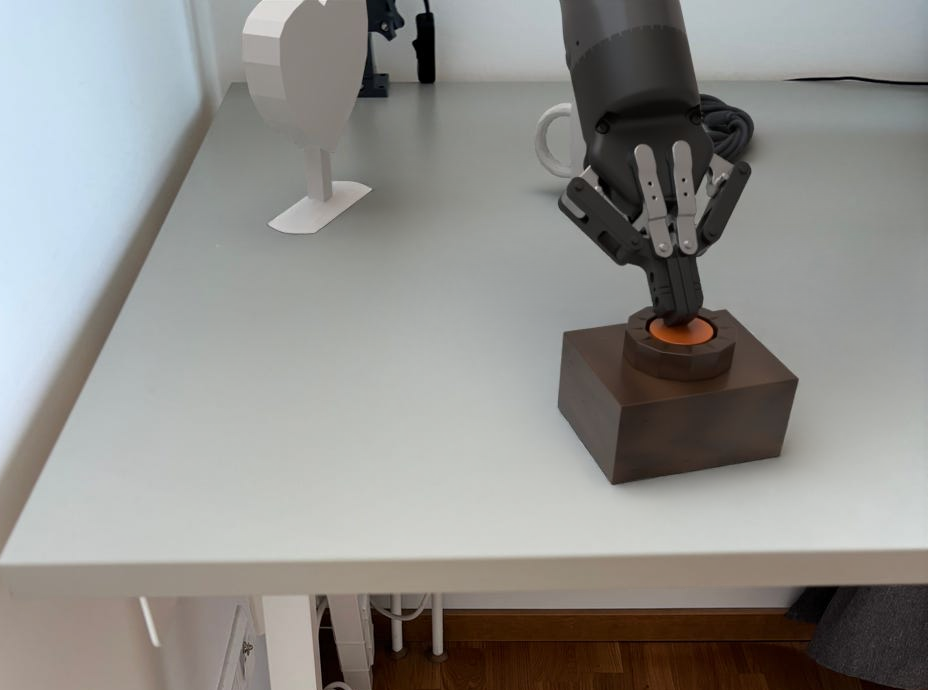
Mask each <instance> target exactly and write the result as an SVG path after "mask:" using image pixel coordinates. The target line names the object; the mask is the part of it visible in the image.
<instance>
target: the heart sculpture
mask: <svg viewBox="0 0 928 690" xmlns="http://www.w3.org/2000/svg"><path fill="white" fill-rule="evenodd" d="M368 16H369V15H368V9H367V0H261V1H259V3H258V4H257V5H256V6H255V7H254V8H253V9H252V11H251V12H250V14H248V17H246V20H245V23H244V26H243V29H242V32H241V43H242V44H241V45H242V47H241V48H242V64H243V69H244V72H245V73H244V74H245V78H246V82H247V83H246V84H247V87H248V92H249V95H250V97H251V100H252V101H253V104H254V105H255V108H256V109H257V111H258V113H259V116H260V117H261V119H262V120H263V122H264V123H266V124H267V125H268V126H269V127H270V128H271V129H272V130H273V131H274V132H275V133H276V134H278V135H280V136H282V137H283V138H285V139H287V140H289V141H291V142H293V144H295V145H296V146H297V147H299V148H301V149H304V161H305V171H306V172H305V175H306V186H307V195H306V196H304V197H303V198H301V199H300V200H298V201H297V202H296V203H295V204H293V205H292V206H290V207H289V208H287V209H285V210H284V211H282V213H280V214H279V215H278V216H276V217H275V218H273V219H272V220H270V221H269V222H268V223H266V225H268V226H269V227H271V228H272V229H274V230H276V231H279V232H282V233H284V234H316V233H317V232H319V231H320V230H321V229H322V228H324V227H325V226H326V225H327V224H329V223H330V222H332V221H333V220H334V219H336V218H337V217H338V216H339V215H341V214H342V213H343V212H345V211H347V209H349V208H350V207H352V206H353V205H354V204H355V203H357V202H358V201H360V199H362V198H363V197H365V196H366V195H367V194H368V193H370V192H371V191H373V188H371V187H369V186H367V185H365V184H362V183H360V182H356V181H348V180H332V179H333V178H332V166H331V154H334V153H335V151H336V149H337V146H338V144H339V141H340V139H341V137H342V134H343V133H344V130H345V128H346V126H347V123H348V122H349V120H350V117H351V115H352V113H353V109H354V107H355V104H356V101H357V99H358V96H359V93H360V90H361V88H362V83H363V77H364V73H365V72H364V71H365V67H366V62H367V56H368V37H369V36H368V35H369V32H368V31H369V18H368Z"/></svg>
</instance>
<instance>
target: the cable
mask: <svg viewBox="0 0 928 690" xmlns="http://www.w3.org/2000/svg"><path fill="white" fill-rule="evenodd" d="M699 95H700V101H701V119H702V120H703V121H704V124H706V125H707V126H708V127H710V128H711V127H712V128H713V127H720V126H726V127H727V132H728V133H729V134H728V133H723V132H722V131H717V130H712V131H706V132H707V134H708V135H709V136H710V138H711V139H712V141H713V144H714V153H715V154H716V155H718V156H720V157H721V158H723V159H724V160H726V161H729V160H732V159H733V158H735V157H736V156H737V155H738V154H740V153H741V152H742V151H743V149H744V148H746V146H748V144H749V143H750V142H751V140H752V138H753V136H754V132H755V123H754V120H753V119H752V117H751V116H750V114H749V113H748V112H747V111H745V110H743V109H741V108H739V107H735V106H732V105H729V104H727V103H725V102H724V101H723V100H722V99H721V98H718V97H716V96H714V95H711V94H705V93H699Z"/></svg>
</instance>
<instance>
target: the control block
mask: <svg viewBox="0 0 928 690" xmlns="http://www.w3.org/2000/svg"><path fill="white" fill-rule="evenodd" d="M696 318H698V319H701V320H703V321H705V322H706V323H708V324H709V325H710V326H711V327H712V329H713V338H712V341H710V342H708V343H707V344H700V345H693V346H682V345H673V344H667V343H665V342H662V341H660V340H657V339H655V338H652V337H651V335H650V334H649V328H650V324H651V323H652V322H653V321H654V320H655V319H657V316H656V314H655V313H654V310H653V305H649V306H645V307H643V308H641V309H639V310H637V311H636V312H634V313H632V314H631V315H629V316H628V319H627V322H623V323H617V324H610V325H609V324H608V325H601V326H595V327H588V328H587V327H586V328H580V329H573V330H566V331H563V333H562V345H561V358H560V369H559V380H558V381H559V383H558V396H557V408H558V409H559V411H560V412H561V414H562V415H563V416H564V418H565V419H566V421H567V422H568V424H569V425H570V426H571V428H572V429H573V431H574V432H575V434H576V435H577V436H578V438H579V439H580V441H581V442H582V443H583V445H584V446H585V448H586V449H587V451H588V452H589V454H590V455H591V456H592V458H593V459H594V461H595V462H596V463H597V465H598V467H599V468H600V469H601V471H602V472H603V474H604V475H605V477H606V478H607V479H608V481H609V482H610V484H611V485H617V484H622V483H623V484H624V483H627V482H635V481H639V480H645V479H651V478H657V477H663V476H669V475H674V474H682V473H687V472H692V471H697V470H698V471H699V470H704V469H710V468H715V467H723V466H727V465H735V464H740V463H744V462H745V463H746V462H752V461H757V460H763V459H768V458H774V457H779V456H781V453H782V450H783V447H784V442H785V439H786V434H787V429H788V427H789V426H788V425H789V423H790V422H789V421H790V418H791V414H792V409H793V405H794V401H795V397H796V393H797V388H798V384H799V381H800V378H799V377H798V376H797V375H796V374H794V372H793V371H792V370H791V369H789V368H788V367H787V366H786V365H785V364H784V362H783V361H781V360H780V359H779V358H778V357H777V356H776V355H775V354H774V353H773V352H772V351H771V350H770V349H768V348H767V347H766V345H765V344H763V343H762V341H760V340H759V339H758V337H756V336H755V335H754V334H753V333H752V332H751V331H750V330H749V329H748V328H747V327H746V326H744V324H742V323H741V322H740V320H738V319H737V318H736V317H735V316H734V315H733V314H732V313H731V312H730V311H729V310H727V308H724V309H717V310H711V309H708V308H706V307H703V306H702V307H701V308H700V309H699V313H698V316H697V317H696Z"/></svg>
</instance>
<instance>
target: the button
mask: <svg viewBox="0 0 928 690" xmlns="http://www.w3.org/2000/svg"><path fill="white" fill-rule="evenodd" d="M649 334H650V335H651V337H652V338H655V339H657V340H660V341H662V342H665V343H667V344H673V345H682V346H693V345H700V344H707V343H708V342H710V341H712V338H713V329H712V327H711V326H710V325H709V324H708V323H706V322H705V321H703V320H701V319H698V318H695V319H694V320H693V321H691V322H690V323H689V324H686V325H678V326H671V327H667V326H666V325H665V324H664V322H663V318H662V319H658V318H657V319H655V320H654V321H653V322H652V323H651V324H650V328H649Z"/></svg>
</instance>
